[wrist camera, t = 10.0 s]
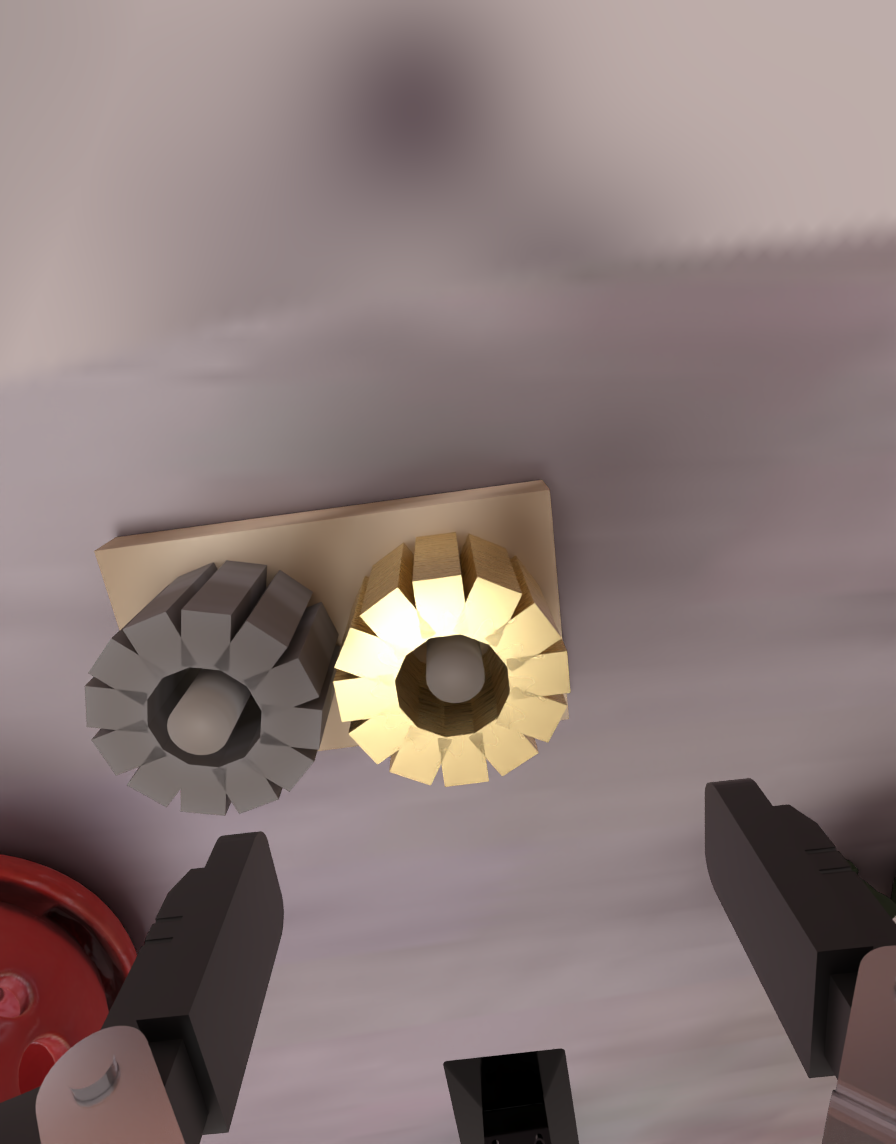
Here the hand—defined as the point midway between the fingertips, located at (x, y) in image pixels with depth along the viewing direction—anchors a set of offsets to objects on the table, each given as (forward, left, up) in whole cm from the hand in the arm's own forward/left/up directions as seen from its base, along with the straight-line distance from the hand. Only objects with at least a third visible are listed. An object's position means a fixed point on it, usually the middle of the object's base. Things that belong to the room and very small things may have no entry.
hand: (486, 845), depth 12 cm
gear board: (+4, 0, -12) cm, 12 cm away
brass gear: (0, 0, -10) cm, 10 cm away
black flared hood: (+1, +27, -12) cm, 29 cm away
